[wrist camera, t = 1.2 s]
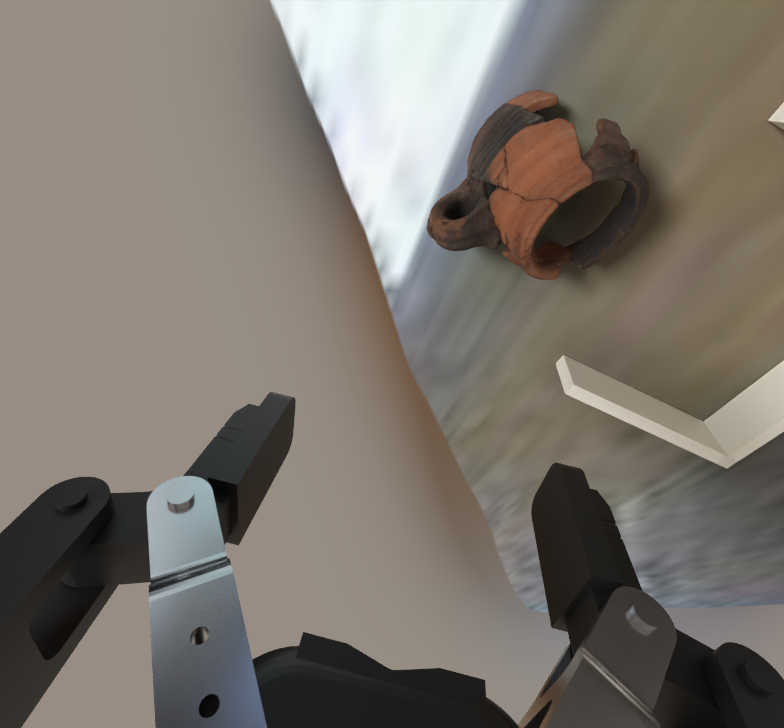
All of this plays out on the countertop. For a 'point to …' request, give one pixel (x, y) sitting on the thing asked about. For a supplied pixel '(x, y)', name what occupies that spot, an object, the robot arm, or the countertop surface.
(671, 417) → the box
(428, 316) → the countertop surface
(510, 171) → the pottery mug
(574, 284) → the countertop surface
